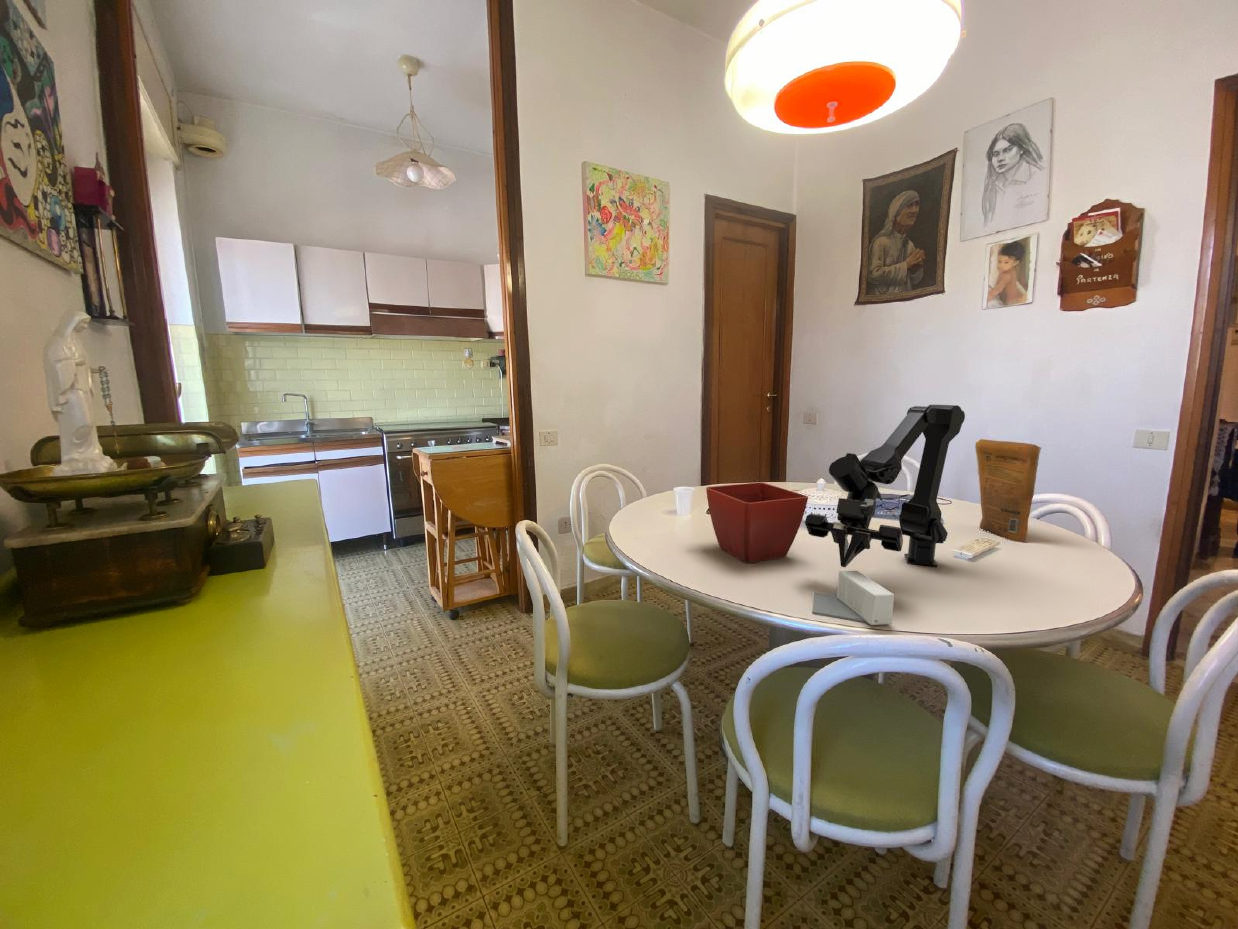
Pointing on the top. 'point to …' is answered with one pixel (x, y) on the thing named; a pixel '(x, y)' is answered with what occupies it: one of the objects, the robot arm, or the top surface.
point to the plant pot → (755, 519)
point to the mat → (833, 607)
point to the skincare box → (865, 597)
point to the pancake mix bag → (1006, 486)
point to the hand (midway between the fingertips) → (842, 566)
